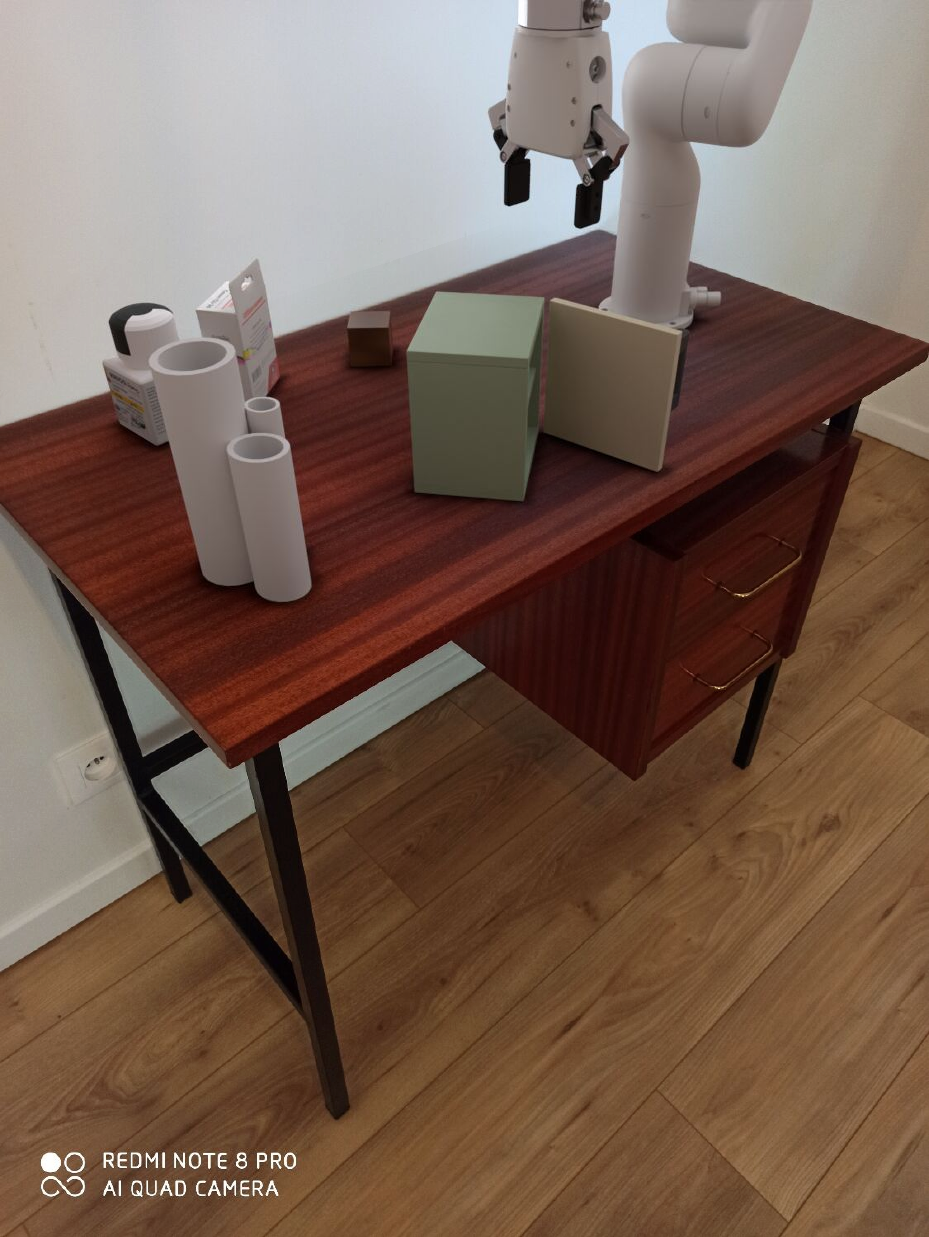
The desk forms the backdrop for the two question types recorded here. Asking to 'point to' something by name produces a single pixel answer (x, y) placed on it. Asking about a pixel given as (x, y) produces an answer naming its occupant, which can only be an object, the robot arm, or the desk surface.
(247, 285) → the ink cartridge box
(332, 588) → the desk surface
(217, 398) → the vase
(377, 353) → the block
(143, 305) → the container
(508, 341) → the cupboard
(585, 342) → the cupboard door
